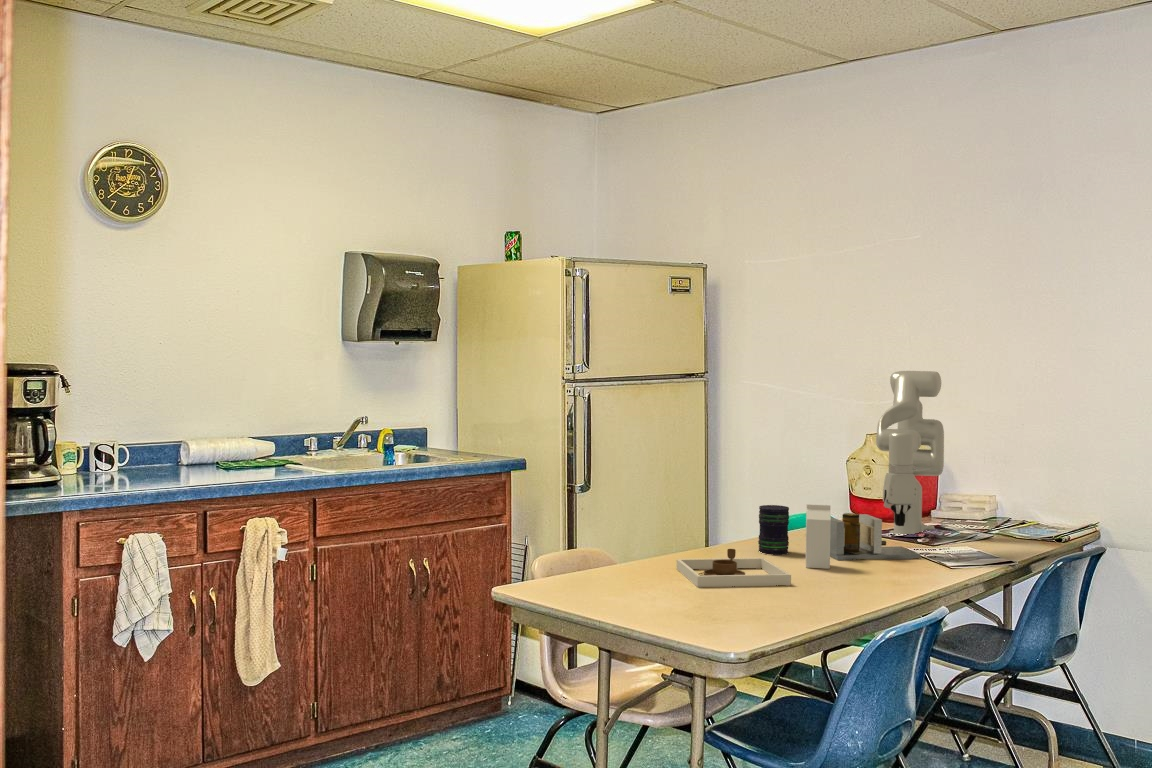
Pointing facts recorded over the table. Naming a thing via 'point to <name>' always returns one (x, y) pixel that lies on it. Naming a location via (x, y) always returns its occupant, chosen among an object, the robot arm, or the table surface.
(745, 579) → the serving tray rim
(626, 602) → the table surface
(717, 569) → the place setting
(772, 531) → the storage jar
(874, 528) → the block
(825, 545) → the milk carton
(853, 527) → the condiment
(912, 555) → the vise base
